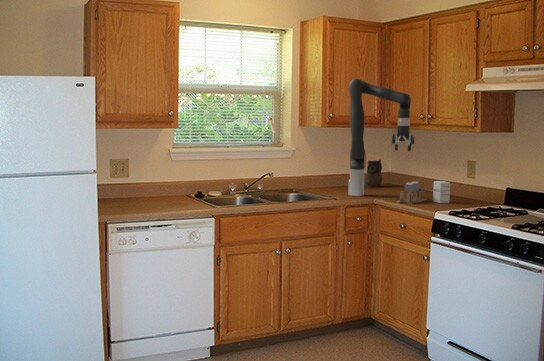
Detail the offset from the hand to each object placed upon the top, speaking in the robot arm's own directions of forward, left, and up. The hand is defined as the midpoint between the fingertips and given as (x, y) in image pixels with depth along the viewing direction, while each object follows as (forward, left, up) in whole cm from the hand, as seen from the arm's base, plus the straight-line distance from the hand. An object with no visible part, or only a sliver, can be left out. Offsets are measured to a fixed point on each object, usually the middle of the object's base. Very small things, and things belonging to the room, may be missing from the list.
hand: (402, 150), depth 406 cm
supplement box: (+27, -1, -30) cm, 41 cm away
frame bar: (+12, -10, -24) cm, 29 cm away
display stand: (+12, -11, -30) cm, 34 cm away
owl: (-43, +42, -30) cm, 67 cm away
